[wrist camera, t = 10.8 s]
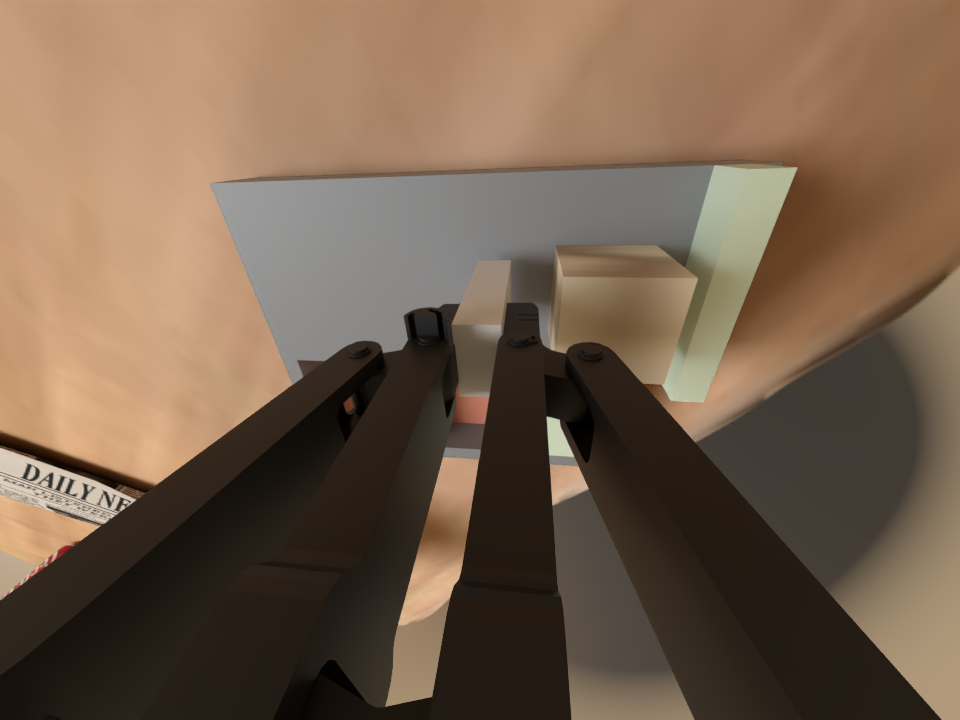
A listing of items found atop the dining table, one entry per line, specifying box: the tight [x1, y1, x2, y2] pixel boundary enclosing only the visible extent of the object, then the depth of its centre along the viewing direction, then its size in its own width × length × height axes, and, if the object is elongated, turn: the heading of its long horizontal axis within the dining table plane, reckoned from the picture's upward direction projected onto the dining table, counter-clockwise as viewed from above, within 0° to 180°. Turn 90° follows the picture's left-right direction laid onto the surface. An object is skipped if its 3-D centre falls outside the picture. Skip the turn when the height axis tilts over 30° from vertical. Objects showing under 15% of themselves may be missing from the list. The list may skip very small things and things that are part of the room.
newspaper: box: [0, 445, 145, 526], centre depth 39 cm, size 35×12×4 cm, turn 69°
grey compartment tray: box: [210, 160, 798, 466], centre depth 20 cm, size 25×18×6 cm
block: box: [548, 245, 698, 385], centre depth 15 cm, size 4×4×4 cm
